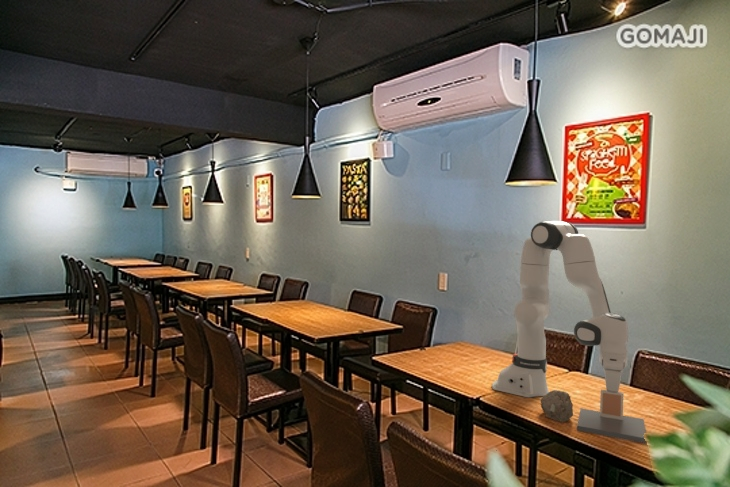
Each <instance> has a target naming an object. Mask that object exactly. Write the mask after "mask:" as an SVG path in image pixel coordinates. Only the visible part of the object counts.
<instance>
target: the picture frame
mask: <svg viewBox="0 0 730 487" xmlns="http://www.w3.org/2000/svg"><path fill="white" fill-rule="evenodd" d="M599 407H600V409H599V412H600V416H602V417H608V418H614V419H619V420H623V416H624V392H620V391H618V393H614V392H608V391H607V389H600V406H599Z"/></svg>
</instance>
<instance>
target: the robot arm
mask: <svg viewBox="0 0 730 487" xmlns="http://www.w3.org/2000/svg"><path fill="white" fill-rule="evenodd" d="M553 251H559V252H560V254H561V255H562V256H561V257H562V260H563V261H562V262H563V267H564V273H565V276H566V279H567V280H568V282H569V283H570V284H572V285H573V286H575V287H576V288H578V289H581V290H582V292H583V293H585V294H586V296H587V297H588V300H589V303H590V308H591V312H592V318H590V319H588V318H587V319H582V320H580V321H578V322H576V324H575V326H574V328H573V335H574V338H575V339H576V341H577V342H578V343H579V344H580V345H583V346H587V347H592V346H593V347H595V346H598V347H599V360H598V361H599V364H601V366H602V369H603V371H604V380H605V390H607V391H608V392H614V393H618V392H620V385H621V378H622V377H621V376H622V373H623V371H624V369H625V368H627V367H628V349H627V344H628V338H629V331H628V322H627V320H626V318H625V317H624V316H622V315H619V314H617V313H613V312H611V308H610V306H609V301H608V298H607V294H606V290H605V287H604V283H603V282H602V279H601V278H600V275H599V273H598V272H599V271H598V268H597V263H596V259H595V255H594V251H593V246H592V244H591V241H590V238H588V236H587V235H584V234H581V233H579V230H578V228H577V227H576V226H575V225H574V224H572V223H571V222H568V221H560V220H550V221H548V220H546V221H545V220H542V221H540V222H538V223H536V224H535V225H534V226H533V227H532V228H531V231H530V237H529V238H527V239H525V241H524V244H523V246H522V251H521V259H520V271H519V272H520V277H519V283H520V285H521V286H520V288H521V296H522V297H521V300H520V301H519V302H518V303H517V304H516V306H515V307H514V310H513V313H514V314H513V315H514V318H515V324H516V325H515V326H516V331H517V332H516V333H517V353H514V354H513V355H512V358H511V363H510V365H508V366H506V367H505V368H503V369H502V370H500V372H499V373H498V377H497V379H496V380H494V381H493V383H492V385H491V388H492V389H493V390H495V391H498V392H503V393H507V394H511V395H515V396H518V397H519V396H520V397H525V398H533V397H544V396H545V395H547V393H549V392H550V391H549V388H548V382H547V368H548V360H547V357H546V356H547V355H546V354H547V351H546V350H547V346H546V345H547V338H546V333H545V325H544V322H545V321H544V320H546V319H547V318H548V316H549V315H550V310H551V309H550V290H549V289H550V288H549V276H550V257H551V253H552V252H553Z"/></svg>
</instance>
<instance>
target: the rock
mask: <svg viewBox="0 0 730 487" xmlns="http://www.w3.org/2000/svg"><path fill="white" fill-rule="evenodd" d="M573 406H574V404H573V402H572V399H571V396H570V394H569V393H568V392H566V391H562V390H559V389H558V390H557V389H555V390H550V391H549V393H547V395H544V396H541V399H540V407H541V410H542V412H543V413H544V414H545V417H546V418H548V419H552V420H553V421H555V422H560V423H565V422H567V421H568V420H570V418H572V417H573V416H574V410H573V408H574V407H573Z"/></svg>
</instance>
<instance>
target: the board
mask: <svg viewBox="0 0 730 487" xmlns="http://www.w3.org/2000/svg"><path fill="white" fill-rule="evenodd" d="M576 431H578V432H585V433H589V434H593V435H598V436H599V435H600V436H605V437H609V438H616V439H620V440H626V441H631V442H637V443H642V444H647V441H645V439H644V436H643V435H644V433H646V434H647V432H646V426H645V419H644V418H640V417H634V416H627V415H623V420H619V419H614V418H608V417H602V416H600V410H593V409H586V408H580V410H579V415H578V418H577V424H576Z"/></svg>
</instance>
